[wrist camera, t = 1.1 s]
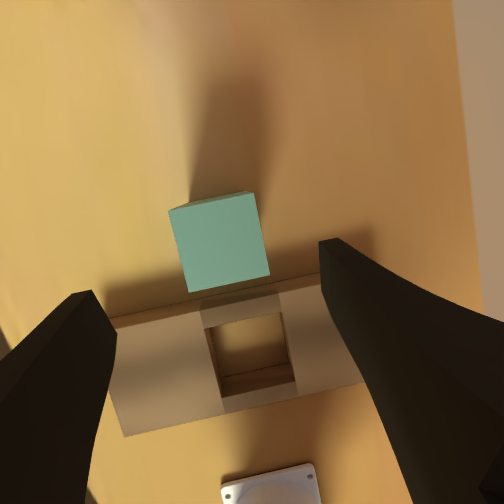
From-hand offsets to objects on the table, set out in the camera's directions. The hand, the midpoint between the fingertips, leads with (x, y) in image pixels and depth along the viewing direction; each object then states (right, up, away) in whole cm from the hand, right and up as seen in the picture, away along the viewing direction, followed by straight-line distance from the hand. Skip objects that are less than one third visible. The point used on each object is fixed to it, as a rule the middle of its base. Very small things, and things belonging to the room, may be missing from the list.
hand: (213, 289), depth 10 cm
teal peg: (-1, +3, +13) cm, 13 cm away
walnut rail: (+1, -5, +14) cm, 16 cm away
